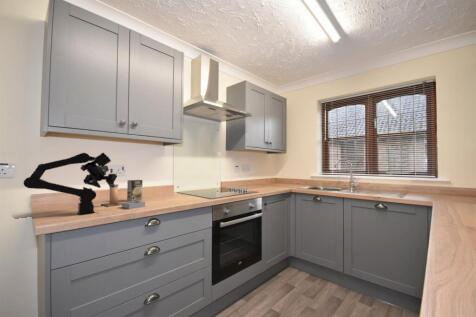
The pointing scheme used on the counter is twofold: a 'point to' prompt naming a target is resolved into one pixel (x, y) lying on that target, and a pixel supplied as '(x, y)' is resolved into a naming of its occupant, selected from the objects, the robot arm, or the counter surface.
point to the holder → (133, 204)
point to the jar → (114, 194)
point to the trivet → (111, 205)
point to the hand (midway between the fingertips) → (107, 187)
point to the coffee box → (134, 190)
